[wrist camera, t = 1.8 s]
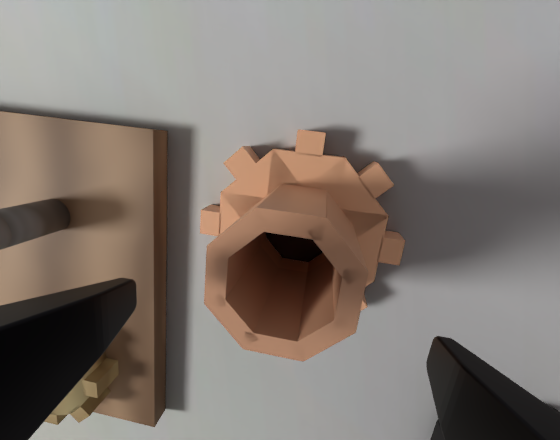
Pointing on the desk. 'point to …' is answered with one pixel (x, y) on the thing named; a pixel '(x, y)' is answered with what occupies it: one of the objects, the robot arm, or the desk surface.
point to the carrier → (90, 244)
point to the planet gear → (305, 224)
